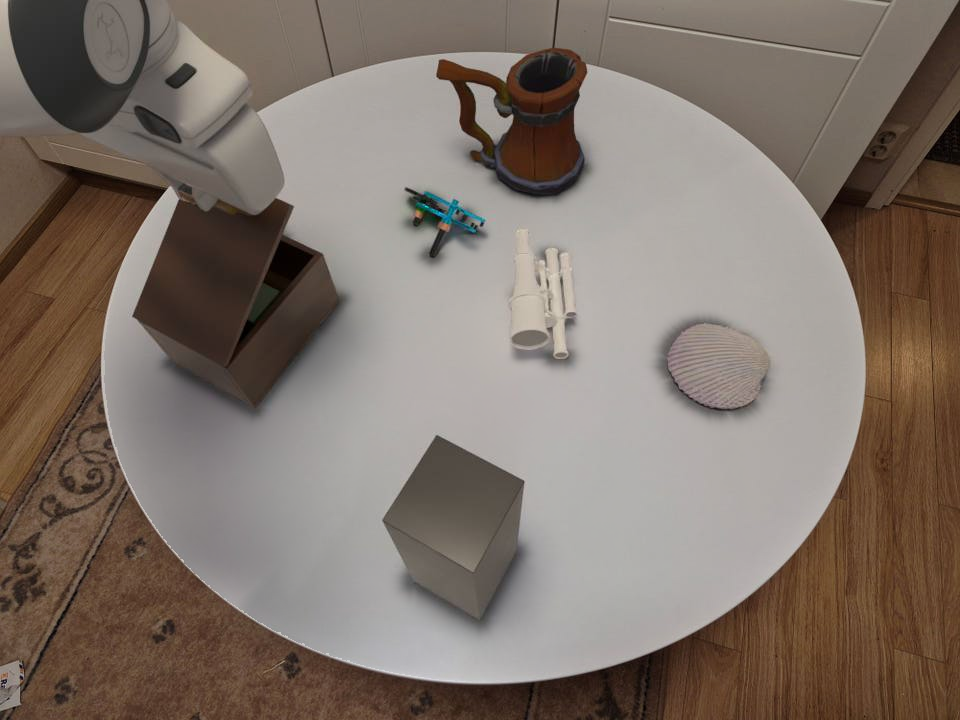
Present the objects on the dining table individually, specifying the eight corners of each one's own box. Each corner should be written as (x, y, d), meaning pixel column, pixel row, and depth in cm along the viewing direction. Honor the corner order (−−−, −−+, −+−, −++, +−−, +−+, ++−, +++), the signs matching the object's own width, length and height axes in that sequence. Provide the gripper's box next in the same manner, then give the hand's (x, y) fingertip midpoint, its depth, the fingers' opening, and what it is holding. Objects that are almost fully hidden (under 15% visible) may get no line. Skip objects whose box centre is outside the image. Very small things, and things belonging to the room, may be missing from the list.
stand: (479, 620, 60) (473, 573, 43) (413, 581, 62) (381, 520, 45) (516, 551, 63) (525, 480, 46) (451, 515, 65) (436, 434, 48)
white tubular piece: (538, 265, 82) (572, 244, 78) (546, 367, 75) (584, 350, 72) (491, 236, 77) (526, 212, 73) (496, 343, 70) (534, 323, 67)
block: (265, 344, 74) (252, 322, 70) (233, 327, 75) (219, 304, 71) (290, 314, 76) (279, 291, 72) (259, 298, 77) (246, 274, 73)
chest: (261, 262, 80) (236, 212, 73) (340, 300, 77) (323, 253, 70) (172, 362, 74) (136, 319, 66) (255, 408, 71) (226, 368, 63)
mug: (437, 190, 85) (426, 91, 72) (450, 126, 91) (443, 23, 78) (580, 202, 84) (596, 103, 71) (585, 136, 89) (601, 33, 76)
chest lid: (198, 162, 65) (166, 148, 61) (294, 206, 62) (267, 194, 58) (136, 317, 66) (101, 313, 62) (227, 366, 63) (196, 366, 59)
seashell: (789, 399, 67) (695, 387, 65) (759, 420, 72) (670, 409, 70) (772, 311, 72) (684, 298, 70) (745, 336, 77) (661, 324, 75)
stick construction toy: (500, 221, 80) (459, 199, 73) (474, 275, 81) (433, 258, 75) (433, 191, 87) (391, 169, 80) (410, 241, 88) (367, 223, 81)
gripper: (-16, 43, 48) (86, 182, 60) (205, 141, 43) (269, 271, 55) (51, -5, 51) (136, 137, 63) (267, 82, 46) (314, 218, 58)
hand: (199, 200), depth 59 cm, fingers closed
